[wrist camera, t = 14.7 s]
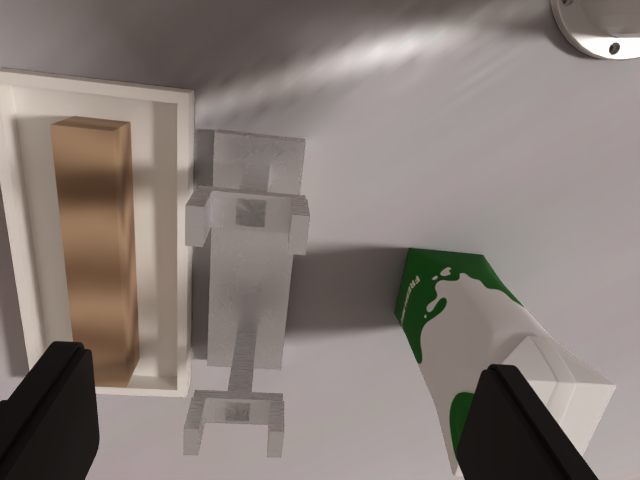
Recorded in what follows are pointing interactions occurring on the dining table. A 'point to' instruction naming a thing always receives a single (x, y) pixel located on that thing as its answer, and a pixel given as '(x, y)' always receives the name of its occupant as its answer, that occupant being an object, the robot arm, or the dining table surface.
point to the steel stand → (247, 274)
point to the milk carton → (488, 345)
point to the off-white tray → (149, 213)
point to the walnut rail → (99, 241)
